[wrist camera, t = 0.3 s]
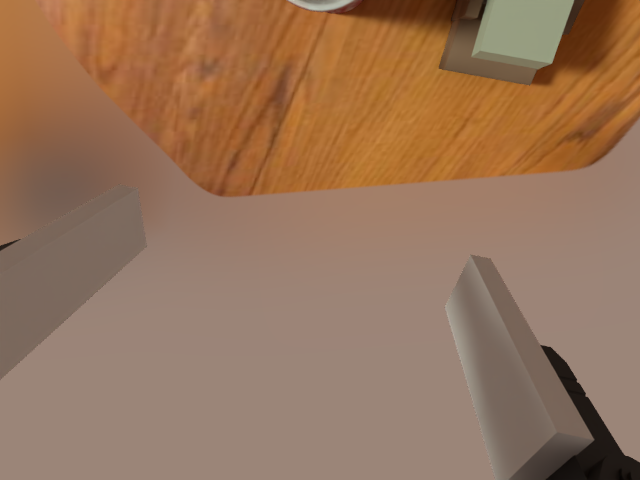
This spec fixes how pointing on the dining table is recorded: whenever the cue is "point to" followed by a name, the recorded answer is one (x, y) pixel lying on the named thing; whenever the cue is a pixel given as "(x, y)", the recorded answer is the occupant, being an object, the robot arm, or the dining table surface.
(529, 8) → the rocker green
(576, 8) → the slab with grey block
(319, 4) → the mug
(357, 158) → the dining table surface
